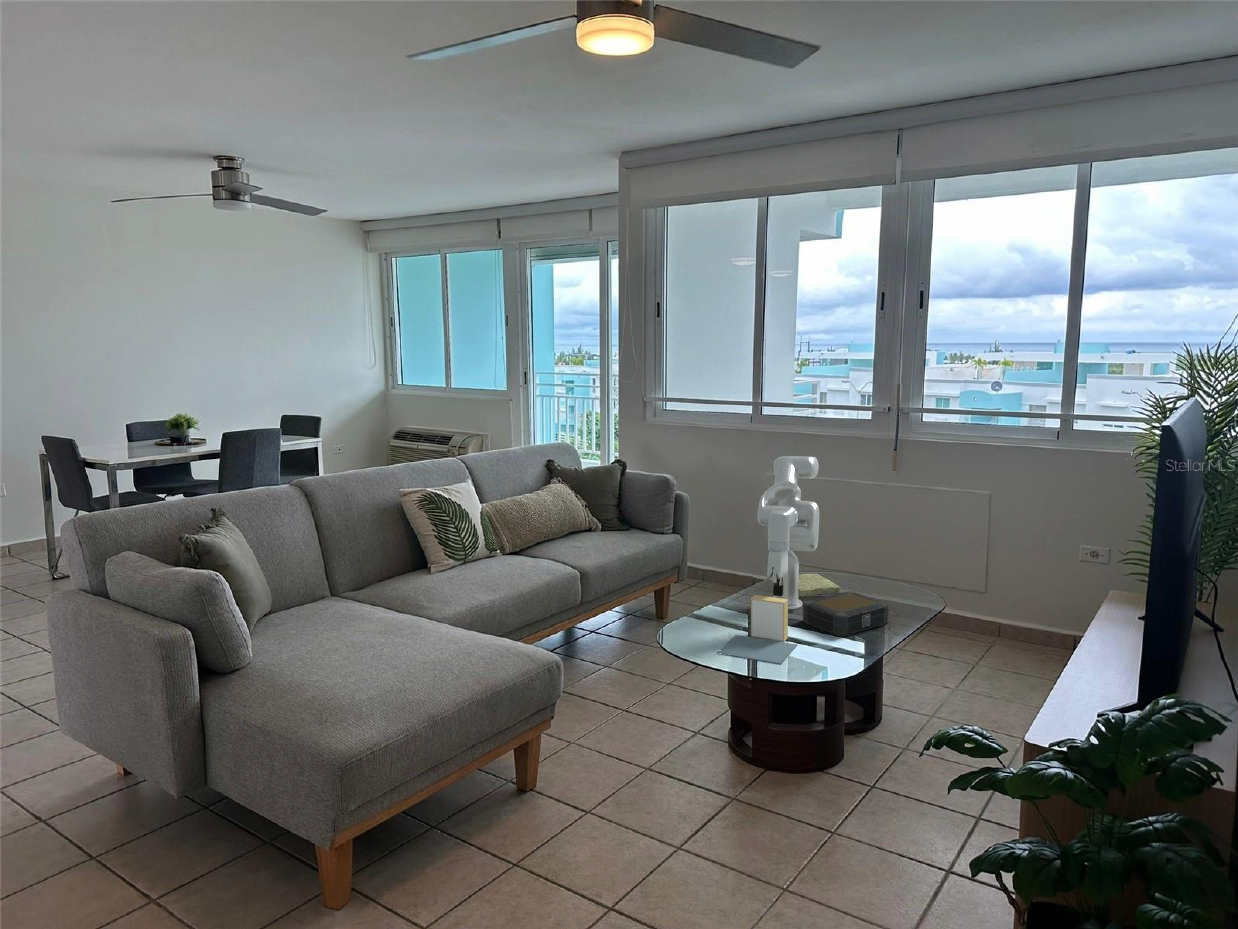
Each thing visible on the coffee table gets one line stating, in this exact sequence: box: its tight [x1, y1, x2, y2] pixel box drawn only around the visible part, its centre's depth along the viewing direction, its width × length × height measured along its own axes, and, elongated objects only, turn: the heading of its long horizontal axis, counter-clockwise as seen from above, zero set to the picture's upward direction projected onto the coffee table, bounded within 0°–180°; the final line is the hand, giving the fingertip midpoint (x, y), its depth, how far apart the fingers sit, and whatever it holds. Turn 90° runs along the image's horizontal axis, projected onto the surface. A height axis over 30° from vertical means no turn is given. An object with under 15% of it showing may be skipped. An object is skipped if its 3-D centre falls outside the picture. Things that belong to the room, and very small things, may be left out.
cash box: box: [802, 590, 890, 637], centre depth 303 cm, size 25×20×8 cm
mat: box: [716, 634, 798, 665], centre depth 279 cm, size 18×22×1 cm
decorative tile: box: [798, 573, 841, 597], centre depth 345 cm, size 19×20×4 cm
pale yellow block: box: [750, 594, 789, 642], centre depth 289 cm, size 4×12×14 cm, turn 62°
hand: (778, 595), depth 297 cm, fingers closed
